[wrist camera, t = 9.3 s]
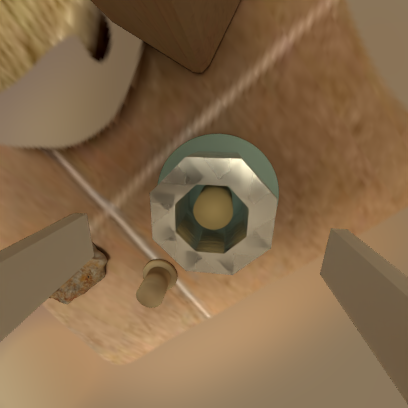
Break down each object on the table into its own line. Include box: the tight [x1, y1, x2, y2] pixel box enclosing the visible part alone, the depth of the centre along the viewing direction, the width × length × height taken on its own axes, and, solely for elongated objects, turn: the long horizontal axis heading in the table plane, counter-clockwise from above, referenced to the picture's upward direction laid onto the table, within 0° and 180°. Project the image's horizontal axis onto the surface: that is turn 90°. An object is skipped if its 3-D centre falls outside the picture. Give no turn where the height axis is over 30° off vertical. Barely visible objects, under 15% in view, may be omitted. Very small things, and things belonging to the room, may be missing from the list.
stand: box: [136, 259, 177, 308], centre depth 24 cm, size 4×4×4 cm
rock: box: [49, 243, 107, 304], centre depth 25 cm, size 9×6×10 cm
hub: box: [158, 134, 279, 230], centre depth 19 cm, size 12×12×6 cm
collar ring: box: [150, 151, 278, 275], centre depth 17 cm, size 9×9×6 cm
